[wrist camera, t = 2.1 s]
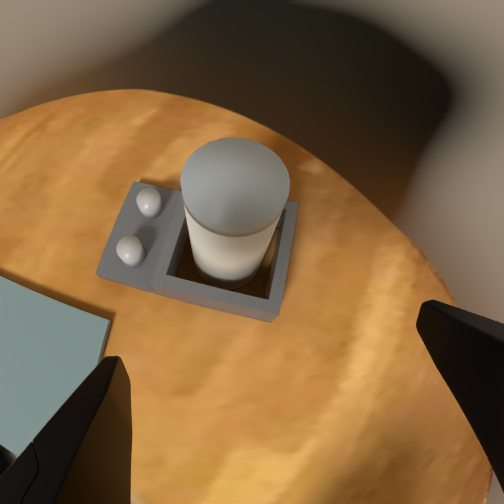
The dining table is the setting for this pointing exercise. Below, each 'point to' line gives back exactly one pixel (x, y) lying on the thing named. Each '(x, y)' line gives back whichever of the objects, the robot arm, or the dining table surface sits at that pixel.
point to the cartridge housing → (171, 249)
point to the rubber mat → (41, 359)
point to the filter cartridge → (232, 207)
